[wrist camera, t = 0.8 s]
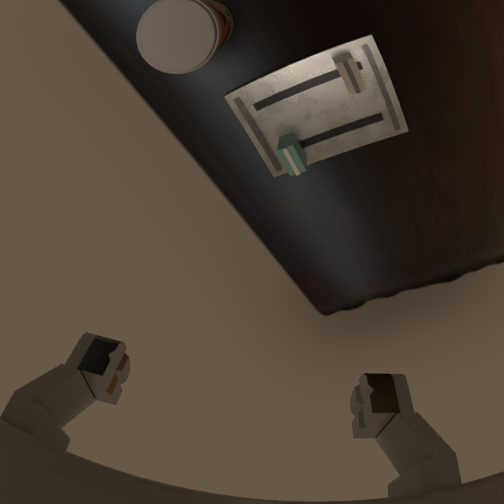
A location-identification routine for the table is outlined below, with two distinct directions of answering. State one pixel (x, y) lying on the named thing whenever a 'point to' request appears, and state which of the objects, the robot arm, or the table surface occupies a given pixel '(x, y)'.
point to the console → (319, 105)
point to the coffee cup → (182, 33)
